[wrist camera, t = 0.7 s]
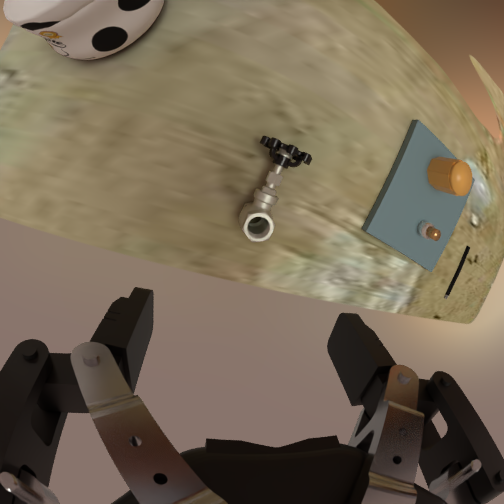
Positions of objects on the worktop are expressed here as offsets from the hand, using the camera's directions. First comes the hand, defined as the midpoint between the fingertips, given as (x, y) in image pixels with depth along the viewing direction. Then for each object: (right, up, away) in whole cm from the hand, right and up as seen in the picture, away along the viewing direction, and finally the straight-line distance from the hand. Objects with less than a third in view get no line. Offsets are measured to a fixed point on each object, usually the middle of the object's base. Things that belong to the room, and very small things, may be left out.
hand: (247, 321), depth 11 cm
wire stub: (+28, +7, +27) cm, 40 cm away
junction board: (+29, +12, +27) cm, 41 cm away
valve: (+2, +11, +25) cm, 27 cm away
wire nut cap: (+30, +16, +24) cm, 42 cm away
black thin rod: (+43, -1, +34) cm, 55 cm away
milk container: (-20, +37, +12) cm, 44 cm away
